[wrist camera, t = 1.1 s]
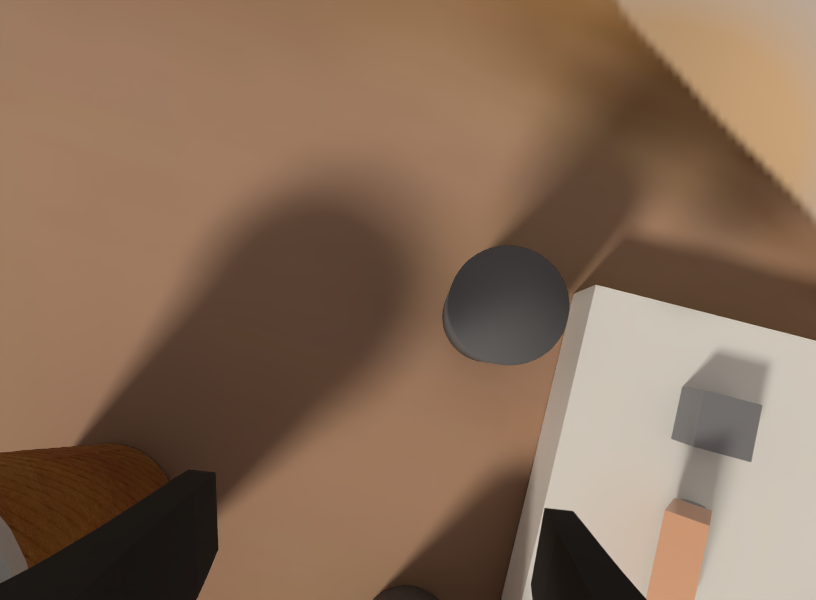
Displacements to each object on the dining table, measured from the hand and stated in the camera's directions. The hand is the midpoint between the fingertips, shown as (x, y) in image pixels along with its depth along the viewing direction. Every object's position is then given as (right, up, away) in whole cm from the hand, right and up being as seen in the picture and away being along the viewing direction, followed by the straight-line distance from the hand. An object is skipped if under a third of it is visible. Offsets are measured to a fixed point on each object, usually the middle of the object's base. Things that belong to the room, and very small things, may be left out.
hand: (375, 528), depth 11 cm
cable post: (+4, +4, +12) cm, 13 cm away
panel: (+11, -5, +11) cm, 16 cm away
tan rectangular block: (+10, -4, +7) cm, 14 cm away
